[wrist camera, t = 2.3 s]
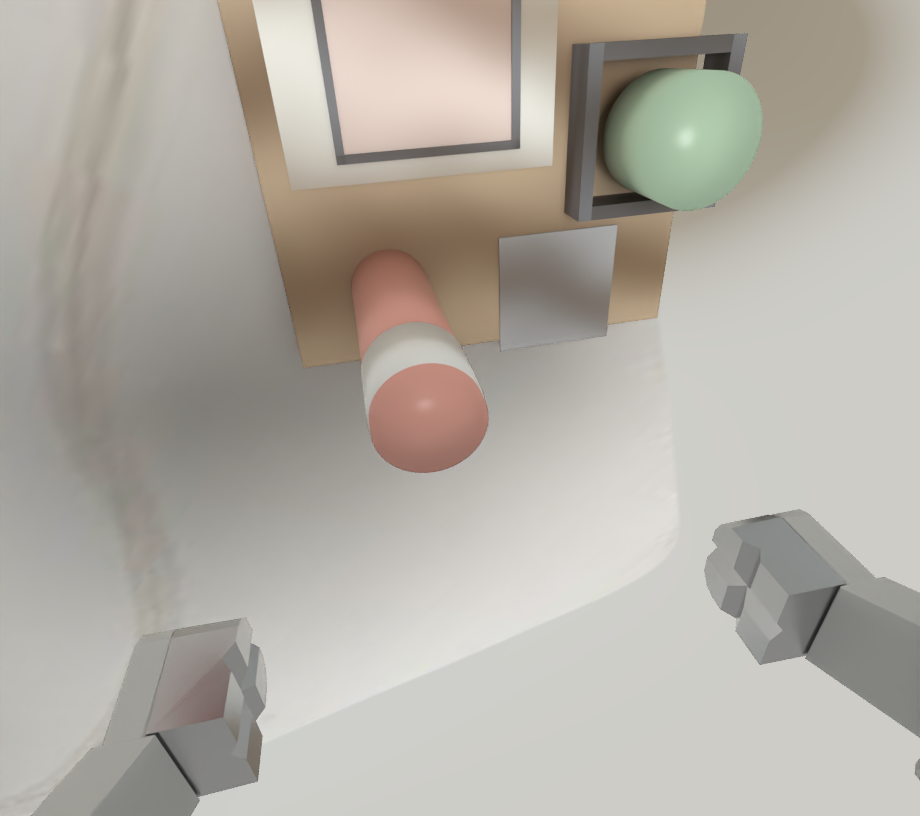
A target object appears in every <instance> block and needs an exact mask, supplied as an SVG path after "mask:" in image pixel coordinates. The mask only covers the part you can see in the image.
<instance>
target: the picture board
mask: <svg viewBox="0 0 920 816" xmlns="http://www.w3.org/2000/svg"><path fill="white" fill-rule="evenodd" d="M217 1H218V5H219V10H220V14H221V18H222V22H223V27H224V31H225V35H226V39H227V44H228V48H229V52H230V57H231V61H232V65H233V69H234V74H235V78H236V82H237V86H238V91H239V95H240V99H241V103H242V108H243V112H244V116H245V120H246V125H247V129H248V133H249V138H250V142H251V146H252V150H253V155H254V159H255V163H256V167H257V172H258V176H259V180H260V184H261V189H262V193H263V197H264V201H265V206H266V210H267V214H268V218H269V223H270V227H271V231H272V236H273V240H274V244H275V248H276V253H277V257H278V261H279V265H280V270H281V274H282V278H283V282H284V287H285V291H286V295H287V299H288V304H289V308H290V312H291V317H292V321H293V325H294V329H295V334H296V338H297V342H298V346H299V351H300V355H301V359H302V363H303V368H308V367H315V366H322V365H329V364H336V363H343V362H350V361H357V360H361V357H360V349H359V341H358V334H357V326H356V318H355V311H354V303H353V295H352V278H353V274H354V272H355V270H356V268H357V266H358V265H359V264H360V262H361V261H362V260H363V259H364V258H366V257H367V256H368V255H370V254H372V253H374V252H376V251H380V250H386V249H394V250H399V251H403V252H405V253H407V254H409V255H411V256H412V257H413V258H415V259H416V260H417V261H418V262H419V264H420V265H421V266H422V268H423V270H424V272H425V274H426V276H427V278H428V281H429V283H430V285H431V287H432V289H433V291H434V293H435V295H436V298H437V300H438V302H439V304H440V306H441V308H442V310H443V313H444V315H445V317H446V319H447V321H448V323H449V325H450V327H451V330H452V332H453V334H454V336H455V338H456V339H457V341H458V342H459V344H460V345H461V346H462V345H469V344H476V343H483V342H490V341H497V340H500V351H505V350H512V349H519V348H526V347H533V346H540V345H547V344H554V343H560V342H567V341H574V340H581V339H588V338H595V337H602V336H606V333H607V325H609V324H616V323H623V322H630V321H637V320H644V319H651V318H657V316H658V309H659V303H660V296H661V289H662V283H663V277H664V271H665V264H666V257H667V251H668V245H669V238H670V232H671V225H672V218H673V212H674V211H679V210H675V209H672V208H669V207H667V206H665V205H663V204H660V203H658V202H656V201H654V200H651V199H649V198H647V197H645V196H642V195H640V194H638V193H636V192H633V191H631V190H629V189H627V188H625V187H623V186H622V185H620V184H619V183H618V182H617V181H616V180H615V179H614V178H613V176H612V175H611V174H610V172H609V170H608V168H607V165H606V163H605V159H604V154H603V134H604V128H605V124H606V120H607V118H608V115H609V112H610V110H611V108H612V106H613V104H614V103H615V101H616V99H617V98H618V97H619V95H620V94H621V93H622V91H623V90H624V89H625V88H626V87H627V86H628V85H629V84H630V83H631V82H633V81H634V80H635V79H636V78H638V77H639V76H641V75H643V74H645V73H647V72H649V71H652V70H655V69H660V68H681V69H696V64H697V57H698V54H705V60H704V67H703V69H704V70H724V71H730V72H733V73H736V74H738V75H740V72H741V67H742V62H743V57H744V51H745V46H746V41H747V36H748V34H726V35H707V36H701V31H702V25H703V19H704V12H705V6H706V0H217ZM707 207H715V203H714V204H712V205H709V206H707ZM707 207H705V208H707ZM680 211H681V210H680Z"/></svg>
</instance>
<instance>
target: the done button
mask: <svg viewBox="0 0 920 816" xmlns="http://www.w3.org/2000/svg"><path fill="white" fill-rule="evenodd" d="M762 122H763V121H762V110H761V104H760V101H759V99H758V96H757V94H756V92H755V90H754V89H753V87H752V86H751V84H750V83H749V82H748V81H747V80H746V79H744V78H743V77H741V76H740V75H738V74H736V73H733V72H730V71H724V70H704V69H681V68H660V69H655V70H652V71H649V72H647V73H645V74H643V75H641V76H639V77H638V78H636V79H635V80H634V81H633V82H631V83H630V84H629V85H628V86H627V87H626V88H625V89H624V90H623V91H622V93H621V94H620V95H619V97H618V98H617V99H616V101H615V103H614V104H613V106H612V108H611V110H610V112H609V115H608V118H607V120H606V124H605V128H604V134H603V154H604V159H605V163H606V165H607V168H608V170H609V172H610V174H611V175H612V176H613V178H614V179H615V180H616V181H617V182H618V183H619V184H620V185H622V186H623V187H625V188H627V189H629V190H631V191H633V192H636V193H638V194H640V195H642V196H645V197H647V198H649V199H651V200H654V201H656V202H658V203H660V204H663V205H665V206H667V207H669V208H672V209H675V210H681V211H693V210H698V209H702V208H705V207H707V206H709V205H712V204H714V203H715V202H717V201H719V200H720V199H721V198H723V197H724V196H726V195H727V194H728V193H729V192H730V191H731V190H732V189H733V188H734V187H735V186H736V185H737V184H738V183H739V182H740V181H741V179H742V178H743V177H744V175H745V174H746V172H747V171H748V169H749V167H750V166H751V164H752V162H753V159H754V157H755V155H756V152H757V150H758V146H759V143H760V138H761V133H762Z"/></svg>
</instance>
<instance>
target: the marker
mask: <svg viewBox="0 0 920 816" xmlns="http://www.w3.org/2000/svg"><path fill="white" fill-rule="evenodd" d="M352 295H353V303H354V311H355V318H356V326H357V334H358V341H359V349H360V357H361V365H362V366H361V378H362V386H363V394H364V403H365V411H366V419H367V425H368V429H369V432H370V435H371V439H372V442H373V444H374V447H375V448H376V450H377V452H378V453H379V454H380V455H381V457H382V458H384V459H385V460H386V461H387V462H388V463H390V464H391V465H393V466H395V467H397V468H400V469H402V470H405V471H410V472H416V473H429V472H436V471H441V470H444V469H447V468H450V467H452V466H454V465H456V464H458V463H460V462H462V461H463V460H464V459H466V458H467V457H468V456H470V455H471V454H472V453H473V452H474V451H475V450H476V448H477V447H478V446H479V444H480V443H481V441H482V440H483V438H484V436H485V433H486V430H487V426H488V409H487V405H486V402H485V398H484V394H483V391H482V389H481V387H480V385H479V383H478V380H477V378H476V376H475V374H474V372H473V370H472V368H471V366H470V364H469V362H468V359H467V357H466V355H465V353H464V351H463V349H462V347H461V345H460V344H459V342H458V341H457V339H456V338H455V336H454V334H453V332H452V330H451V327H450V325H449V323H448V321H447V319H446V317H445V315H444V313H443V310H442V308H441V306H440V304H439V302H438V300H437V298H436V295H435V293H434V291H433V289H432V287H431V285H430V283H429V281H428V278H427V276H426V274H425V272H424V270H423V268H422V266H421V265H420V264H419V262H418V261H417V260H416V259H415V258H413V257H412V256H411V255H409V254H407V253H405V252H403V251H399V250H394V249H386V250H380V251H376V252H374V253H372V254H370V255H368V256H367V257H366V258H364V259H363V260H362V261H361V262H360V264H359V265H358V266H357V268H356V270H355V272H354V274H353V278H352Z"/></svg>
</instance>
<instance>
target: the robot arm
mask: <svg viewBox="0 0 920 816" xmlns="http://www.w3.org/2000/svg"><path fill="white" fill-rule="evenodd" d="M712 541H713V542H714V543H715V544H716V546H717V548H716V549H715V550H714V551H713V552H712V553H711V554H710V555H709V556H708V557H707V561H706V565H705V570H704V571H705V577H706V583H707V586H708V589H709V591H710V593H711V596H712V597H713V599H714V600H715V602H716V603H717V605H718V606H719V608H720V609H721V610H723V611H724V612H726V613H728V614H730V615H731V616H733V617H735V618H736V632H737V634H738V635H739V636H740V638H741V639H742V641H743V642H744V643H745V645H746V646H747V648H748V649H749V651H750V652H751V653H752V655H753V656H754V658H755V659H756V660H757V661H758V663H759V664H760V665H761V664H766V663H771V662H776V661H781V660H786V659H791V658H796V657H801V656H806V655H807V656H806V658H805V659H807V660H808V661H810V662H811V663H813V664H814V665H816V666H817V667H818V668H820V669H821V670H823V671H824V672H826V673H827V674H829V675H830V676H832V677H833V678H834V679H836V680H837V681H839V682H840V683H842V684H843V685H844V686H846V687H847V688H849V689H850V690H852V691H853V692H855V693H856V694H858V695H859V696H860V697H862V698H863V699H865V700H866V701H868V702H869V703H871V704H872V705H873V706H875V707H876V708H878V709H879V710H881V711H882V712H883V713H885V714H886V715H888V716H889V717H891V718H892V719H894V720H895V721H897V722H898V723H900V724H901V725H902V726H904V727H905V728H907V729H908V730H909V731H911V732H912V733H914V734H915V735H917V736H918V737H920V593H919V592H917V591H914V590H912V589H910V588H908V587H906V586H903V585H901V584H899V583H897V582H894V581H892V580H890V579H888V578H886V577H882V578H875V577H874V576H873V575H872V574H871V573H870V572H869V571H868V570H867V569H866V568H865V567H864V566H863V565H862V564H861V563H860V562H859V561H858V560H857V559H856V558H854V557H853V555H852V554H851V553H849V552H848V551H847V550H846V549H845V548H844V547H843V546H842V545H841V544H840V543H839V542H838V541H837V540H836V539H835V538H834V537H833V536H832V535H831V534H830V533H829V532H828V531H827V530H825V529H824V528H823V527H822V526H821V525H820V524H819V523H818V522H817V521H816V520H815V519H814V518H813V517H812V516H811V515H810V514H808V513H806V512H804V511H802V510H794V511H789V512H783V513H778V514H773V515H765V516H760V517H755V518H750V519H746V520H741V521H736V522H731V523H727V524H722V525H720V526H719V527H718V528H717V529H716V530H715V532H714V536H713V539H712ZM251 638H252V628H251V626H250V624H249V622H248V620H247V618H240V619H234V620H228V621H222V622H216V623H210V624H204V625H198V626H193V627H187V628H181V629H175V630H170V631H164V632H159V633H153V634H148V635H143V636H142V637H141V639H140V640H139V641H138V643H137V644H136V646H135V647H134V650H133V653H132V656H131V659H130V662H129V666H128V669H127V672H126V675H125V678H124V681H123V684H122V687H121V690H120V693H119V696H118V699H117V702H116V705H115V708H114V711H113V714H112V717H111V720H110V723H109V726H108V729H107V732H106V735H105V738H104V741H103V744H102V746H99V747H95V748H91V749H90V750H89V751H88V752H87V753H86V754H85V756H84V757H83V758H82V759H81V760H80V761H79V762H78V763H77V765H76V766H75V767H74V768H73V769H72V770H71V771H70V772H69V773H68V775H67V776H66V777H65V778H64V779H63V780H62V781H61V782H60V784H59V785H58V786H57V787H56V788H55V789H54V790H53V791H52V792H51V794H50V795H49V796H48V797H47V798H46V799H45V800H44V801H43V803H42V804H41V805H40V806H39V807H38V808H37V809H36V810H35V811H34V813H33V814H32V815H31V816H191V814H192V813H193V811H194V809H195V808H196V806H197V804H198V802H199V798H198V797H200V796H204V795H208V794H211V793H215V792H219V791H223V790H226V789H231V788H234V787H238V786H242V785H246V784H250V783H254V782H257V781H258V775H259V764H260V755H261V746H262V734H261V731H260V729H259V727H258V725H257V723H256V720H257V718H258V717H259V715H260V714H261V712H262V711H263V710H264V708H265V705H266V692H267V683H266V668H265V663H264V658H263V655H262V653H261V650H260V647H258V646H256V645H254V644H252V643H251ZM915 775H916V776H917V777H918V778H919V780H920V759H919V760H918V761H917V763H916V765H915Z"/></svg>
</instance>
